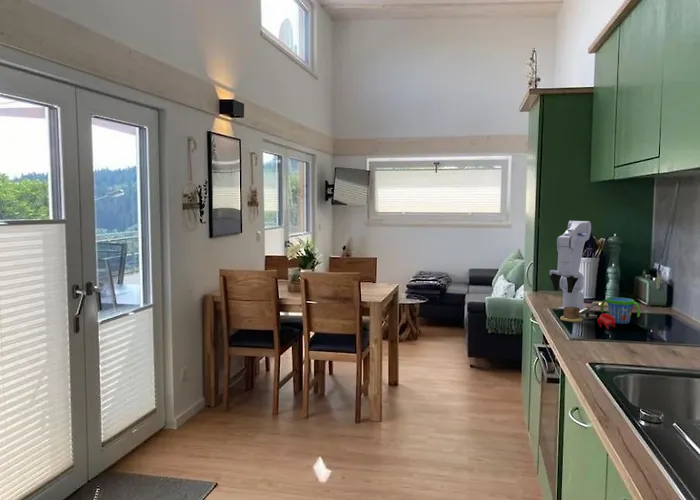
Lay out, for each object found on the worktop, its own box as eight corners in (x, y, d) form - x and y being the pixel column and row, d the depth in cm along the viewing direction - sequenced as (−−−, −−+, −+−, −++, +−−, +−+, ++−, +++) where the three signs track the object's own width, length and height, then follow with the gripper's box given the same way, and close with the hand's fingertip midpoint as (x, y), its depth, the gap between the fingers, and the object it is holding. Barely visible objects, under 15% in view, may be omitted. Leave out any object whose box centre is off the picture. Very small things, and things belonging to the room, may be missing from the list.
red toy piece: (605, 322, 224) (617, 314, 224) (594, 315, 229) (606, 307, 229) (608, 335, 228) (620, 328, 228) (597, 328, 233) (609, 320, 234)
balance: (600, 312, 260) (600, 298, 259) (617, 316, 252) (618, 302, 251) (555, 319, 245) (556, 304, 244) (572, 323, 237) (573, 307, 237)
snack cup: (595, 321, 242) (596, 297, 241) (607, 317, 249) (608, 295, 248) (632, 327, 230) (633, 303, 229) (643, 324, 237) (645, 300, 236)
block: (570, 316, 246) (571, 306, 246) (579, 318, 242) (579, 308, 242) (563, 317, 244) (564, 307, 244) (572, 319, 240) (572, 308, 240)
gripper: (545, 260, 259) (544, 289, 260) (571, 263, 246) (570, 294, 247) (556, 260, 262) (554, 289, 263) (582, 263, 250) (580, 293, 251)
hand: (562, 291), depth 255 cm, fingers open, 7 cm apart
